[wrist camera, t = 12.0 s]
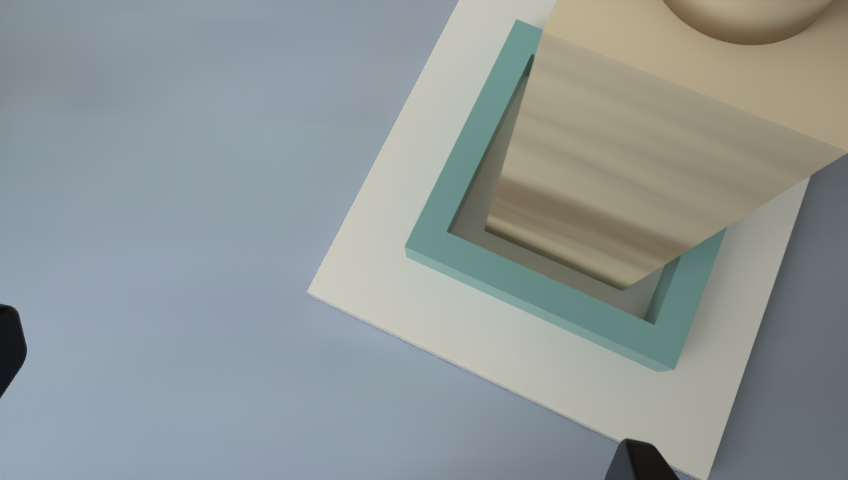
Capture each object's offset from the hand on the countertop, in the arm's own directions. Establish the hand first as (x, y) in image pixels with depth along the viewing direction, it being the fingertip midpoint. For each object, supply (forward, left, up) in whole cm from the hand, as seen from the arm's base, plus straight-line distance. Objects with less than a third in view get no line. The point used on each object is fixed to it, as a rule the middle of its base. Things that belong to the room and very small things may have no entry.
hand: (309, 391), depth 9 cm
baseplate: (+2, -9, -13) cm, 16 cm away
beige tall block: (+2, -9, -12) cm, 15 cm away
